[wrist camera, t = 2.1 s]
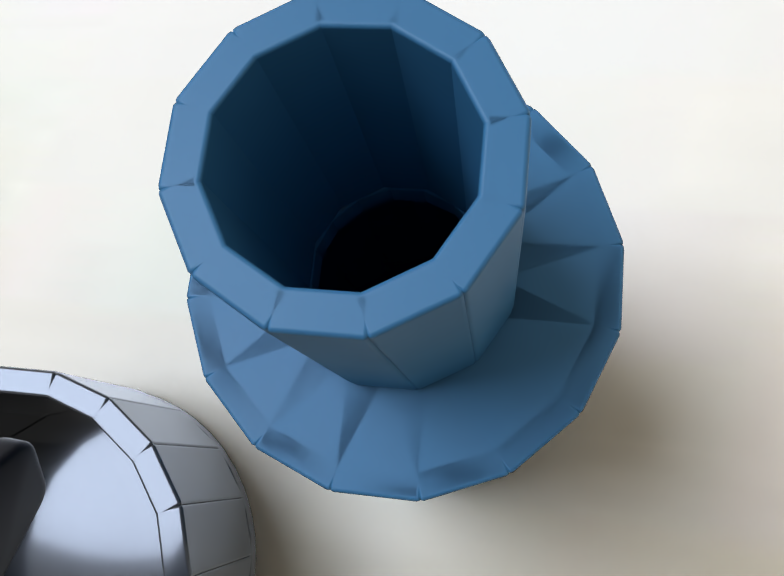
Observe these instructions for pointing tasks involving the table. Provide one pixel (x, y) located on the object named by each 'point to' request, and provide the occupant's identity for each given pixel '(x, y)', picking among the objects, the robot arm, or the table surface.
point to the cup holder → (123, 483)
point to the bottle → (387, 248)
